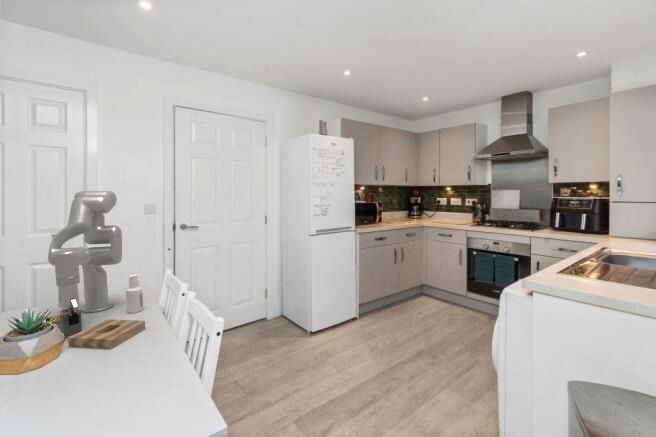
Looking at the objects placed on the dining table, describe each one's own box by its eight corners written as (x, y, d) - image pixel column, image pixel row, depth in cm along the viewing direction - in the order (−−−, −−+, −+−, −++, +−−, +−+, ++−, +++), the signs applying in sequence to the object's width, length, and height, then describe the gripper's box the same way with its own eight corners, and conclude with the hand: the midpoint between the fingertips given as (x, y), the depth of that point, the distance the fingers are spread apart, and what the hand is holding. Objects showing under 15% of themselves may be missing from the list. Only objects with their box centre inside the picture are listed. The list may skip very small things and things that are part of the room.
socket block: (68, 346, 119) (67, 337, 119) (107, 327, 137) (107, 319, 137) (111, 348, 117) (110, 339, 117) (145, 328, 135) (144, 320, 134)
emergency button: (23, 318, 137) (67, 311, 146) (23, 328, 138) (68, 320, 146) (19, 325, 130) (66, 317, 139) (19, 336, 130) (66, 326, 139)
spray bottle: (146, 309, 158) (144, 274, 157) (134, 314, 152) (132, 277, 151) (136, 307, 161) (134, 273, 160) (123, 312, 154) (121, 276, 153)
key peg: (61, 334, 130) (59, 311, 129) (79, 329, 134) (77, 307, 134) (64, 337, 127) (62, 313, 126) (82, 332, 132) (80, 309, 131)
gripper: (50, 279, 131) (53, 320, 133) (62, 286, 121) (65, 330, 122) (73, 275, 137) (75, 314, 139) (86, 281, 127) (88, 323, 128)
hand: (70, 321), depth 130 cm, fingers open, 8 cm apart
